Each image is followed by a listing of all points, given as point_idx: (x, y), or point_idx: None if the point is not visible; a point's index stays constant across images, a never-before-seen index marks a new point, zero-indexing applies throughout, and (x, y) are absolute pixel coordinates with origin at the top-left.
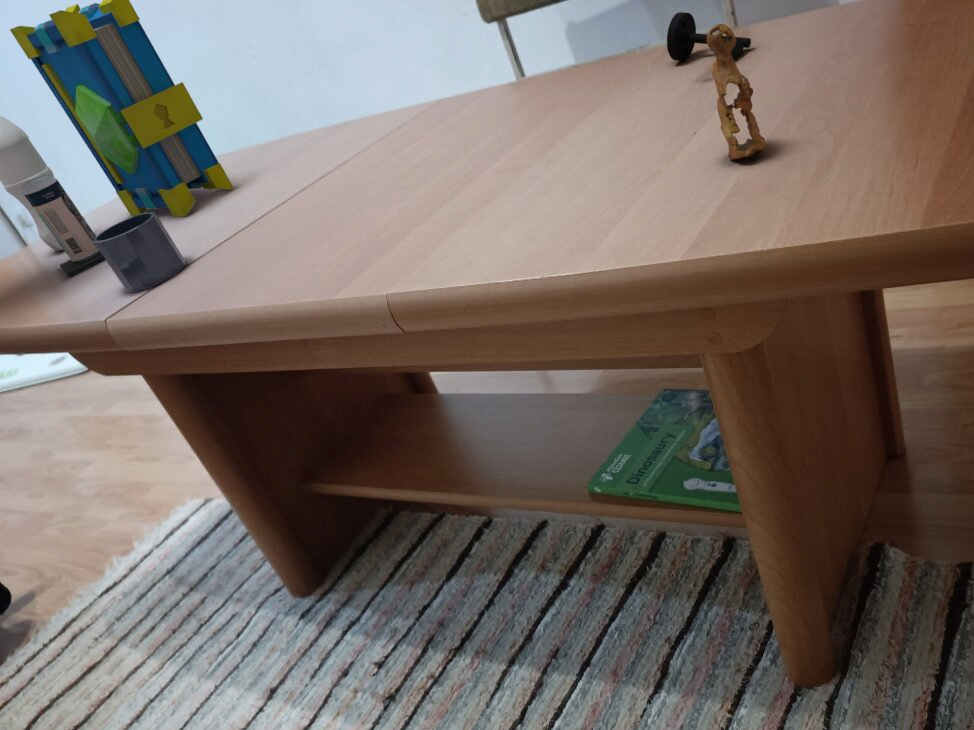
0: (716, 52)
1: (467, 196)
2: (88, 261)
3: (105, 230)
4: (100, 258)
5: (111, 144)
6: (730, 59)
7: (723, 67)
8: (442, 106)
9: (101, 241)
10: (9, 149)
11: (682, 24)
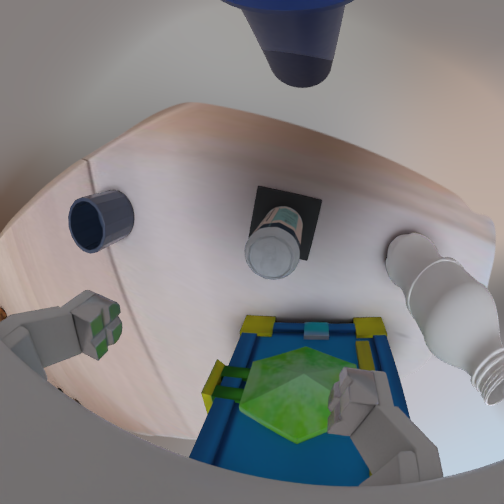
0: None
1: (36, 306)
2: (261, 214)
3: (100, 217)
4: (251, 223)
5: (281, 367)
6: None
7: None
8: (178, 429)
9: (76, 201)
10: (428, 313)
11: None
